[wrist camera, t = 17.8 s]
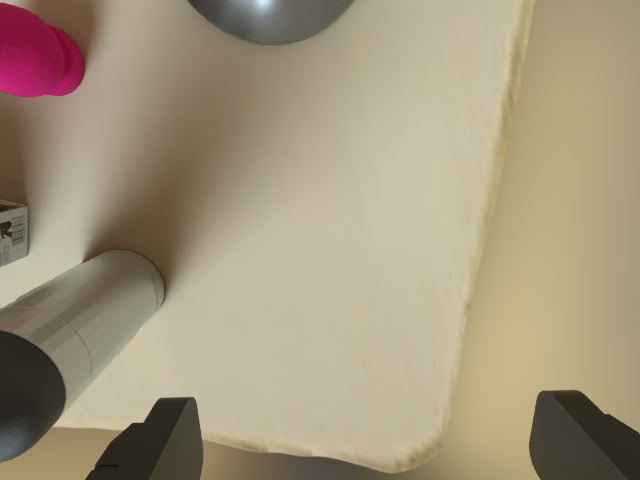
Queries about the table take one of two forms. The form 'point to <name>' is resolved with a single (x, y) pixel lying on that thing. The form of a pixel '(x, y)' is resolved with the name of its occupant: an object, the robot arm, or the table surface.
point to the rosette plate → (271, 18)
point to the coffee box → (13, 231)
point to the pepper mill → (36, 56)
